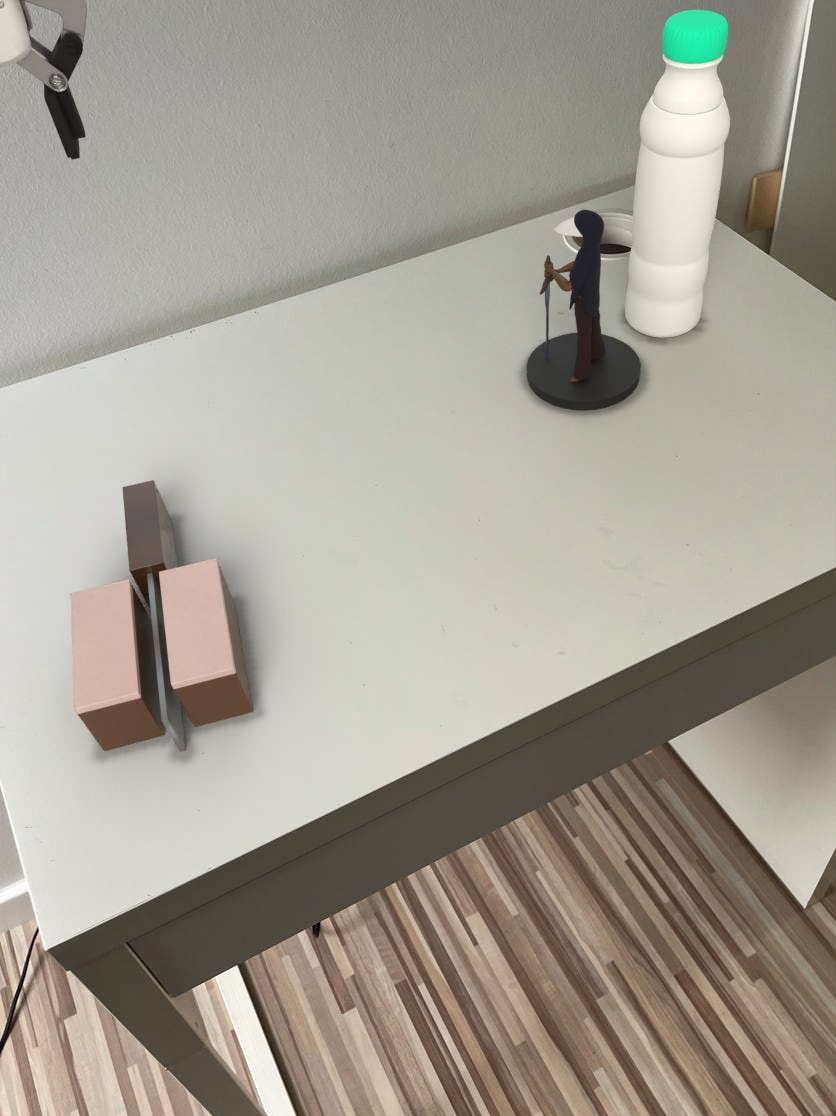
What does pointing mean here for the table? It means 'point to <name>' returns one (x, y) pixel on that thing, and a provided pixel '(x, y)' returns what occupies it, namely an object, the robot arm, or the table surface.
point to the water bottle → (678, 178)
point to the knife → (154, 583)
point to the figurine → (582, 333)
